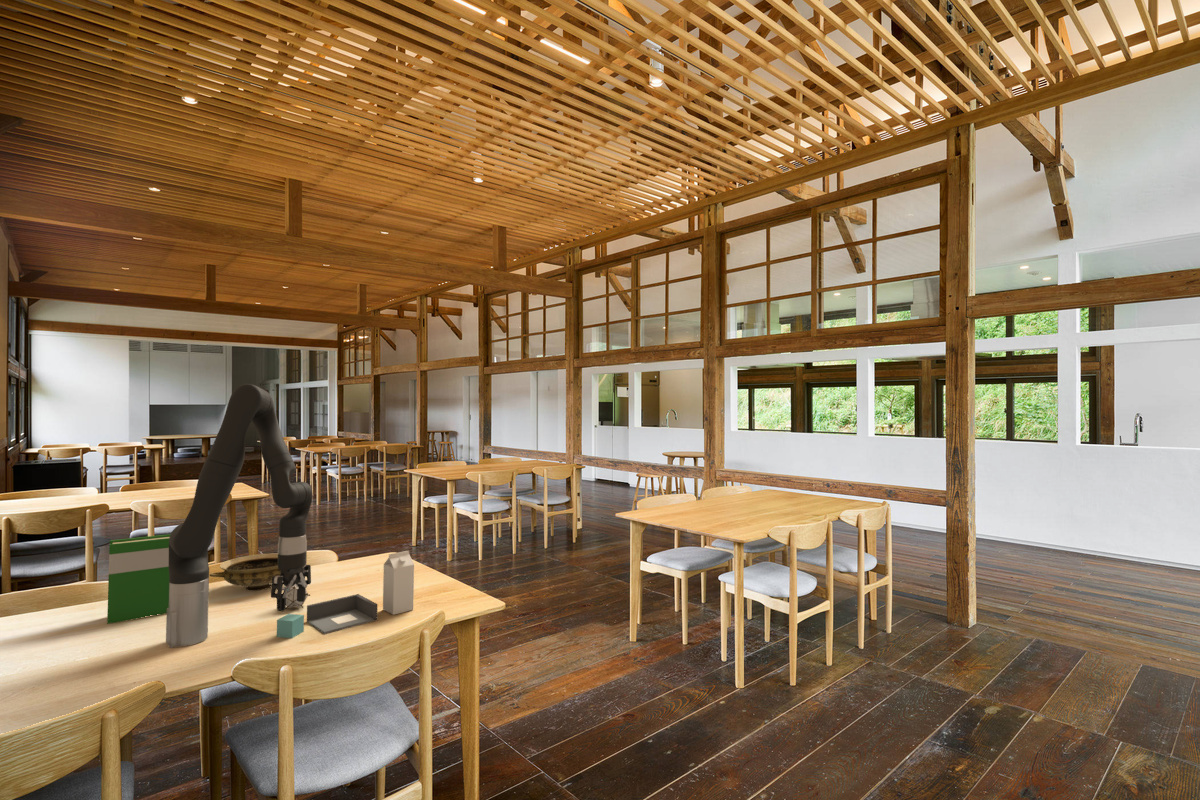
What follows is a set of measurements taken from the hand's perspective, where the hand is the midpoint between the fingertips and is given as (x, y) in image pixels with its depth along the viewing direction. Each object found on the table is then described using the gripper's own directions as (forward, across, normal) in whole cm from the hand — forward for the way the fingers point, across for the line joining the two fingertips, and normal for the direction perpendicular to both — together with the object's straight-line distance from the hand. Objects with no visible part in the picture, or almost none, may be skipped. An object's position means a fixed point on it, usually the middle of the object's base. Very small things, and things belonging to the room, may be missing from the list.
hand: (291, 605), depth 168 cm
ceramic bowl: (+8, +37, +41) cm, 56 cm away
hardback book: (+8, +7, +56) cm, 57 cm away
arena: (+8, +12, -9) cm, 17 cm away
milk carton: (+8, +24, -21) cm, 33 cm away
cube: (+8, 0, 0) cm, 8 cm away
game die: (+8, +20, +14) cm, 26 cm away
